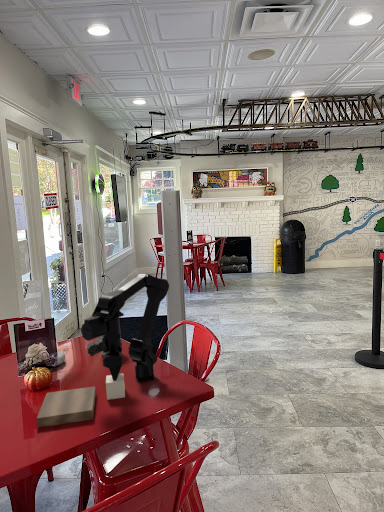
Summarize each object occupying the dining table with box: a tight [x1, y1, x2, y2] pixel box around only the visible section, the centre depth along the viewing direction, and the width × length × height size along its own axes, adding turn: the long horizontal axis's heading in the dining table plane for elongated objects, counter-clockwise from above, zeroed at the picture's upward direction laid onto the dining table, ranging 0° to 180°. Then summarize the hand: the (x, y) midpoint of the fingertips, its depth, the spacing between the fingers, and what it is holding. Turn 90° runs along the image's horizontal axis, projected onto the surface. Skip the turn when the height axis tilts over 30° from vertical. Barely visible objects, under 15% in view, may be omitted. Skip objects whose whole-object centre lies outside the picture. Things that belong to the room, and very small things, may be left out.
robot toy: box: [57, 349, 66, 366], centre depth 153 cm, size 12×4×15 cm
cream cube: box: [105, 373, 126, 400], centre depth 125 cm, size 6×6×6 cm
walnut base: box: [36, 386, 97, 428], centre depth 116 cm, size 16×16×3 cm
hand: (115, 374), depth 125 cm, fingers open, 9 cm apart
